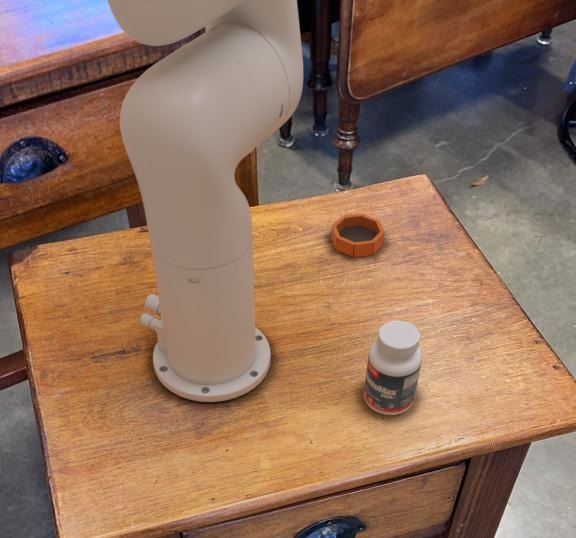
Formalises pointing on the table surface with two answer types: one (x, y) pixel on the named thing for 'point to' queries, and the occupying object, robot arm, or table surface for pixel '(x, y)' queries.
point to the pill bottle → (393, 368)
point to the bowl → (357, 235)
